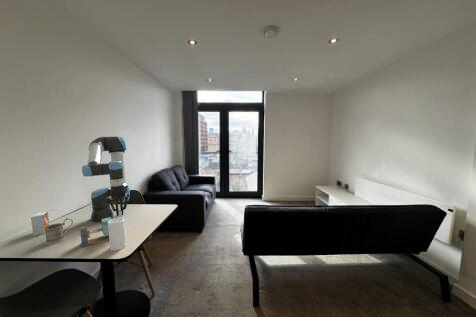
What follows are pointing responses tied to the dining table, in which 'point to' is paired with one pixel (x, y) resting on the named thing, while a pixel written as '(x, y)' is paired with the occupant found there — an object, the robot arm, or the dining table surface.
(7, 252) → the dining table surface
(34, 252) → the dining table surface
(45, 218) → the small box
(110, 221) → the cup
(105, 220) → the sleeve
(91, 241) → the rail
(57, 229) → the mug
